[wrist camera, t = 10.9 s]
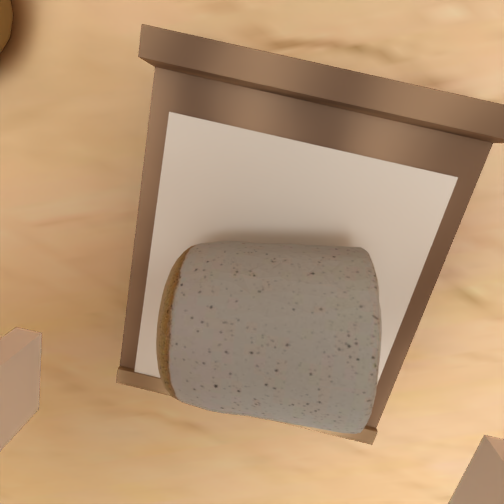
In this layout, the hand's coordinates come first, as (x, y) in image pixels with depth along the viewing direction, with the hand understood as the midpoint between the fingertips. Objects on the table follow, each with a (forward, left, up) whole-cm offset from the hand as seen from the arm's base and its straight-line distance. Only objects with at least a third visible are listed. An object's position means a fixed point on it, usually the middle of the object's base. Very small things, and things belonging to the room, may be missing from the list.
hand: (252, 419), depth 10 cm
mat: (0, +1, -9) cm, 9 cm away
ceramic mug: (+1, -1, -9) cm, 9 cm away
